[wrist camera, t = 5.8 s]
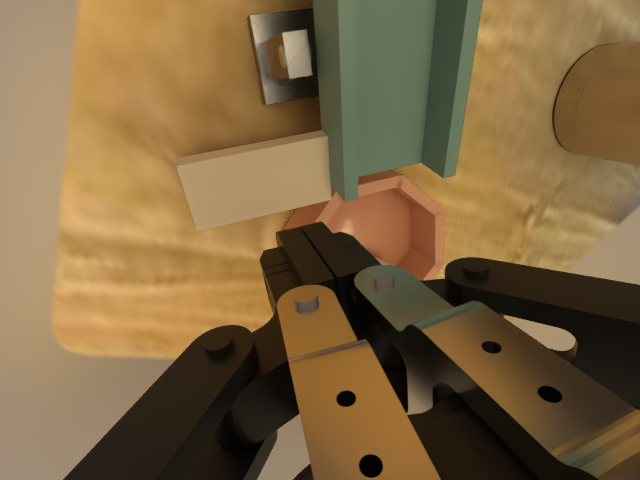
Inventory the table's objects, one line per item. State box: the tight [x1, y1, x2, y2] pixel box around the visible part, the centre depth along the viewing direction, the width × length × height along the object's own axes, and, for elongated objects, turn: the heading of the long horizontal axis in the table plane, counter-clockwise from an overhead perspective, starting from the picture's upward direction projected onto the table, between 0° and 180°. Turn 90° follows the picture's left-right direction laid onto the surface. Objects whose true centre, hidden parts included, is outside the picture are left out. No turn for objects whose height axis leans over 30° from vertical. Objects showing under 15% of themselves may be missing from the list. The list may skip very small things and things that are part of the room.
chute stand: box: [248, 8, 319, 105], centre depth 22 cm, size 11×5×7 cm, turn 98°
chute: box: [176, 0, 483, 232], centre depth 18 cm, size 15×15×6 cm
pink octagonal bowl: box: [283, 170, 445, 281], centre depth 30 cm, size 12×12×4 cm
